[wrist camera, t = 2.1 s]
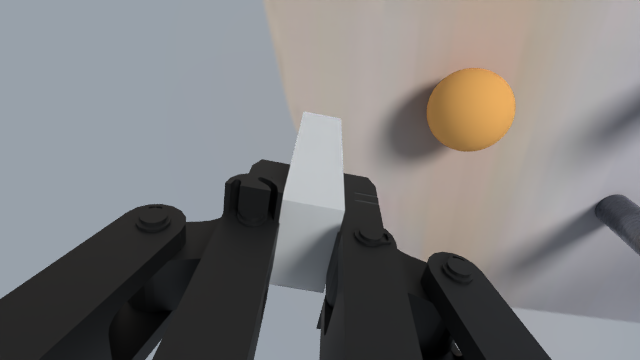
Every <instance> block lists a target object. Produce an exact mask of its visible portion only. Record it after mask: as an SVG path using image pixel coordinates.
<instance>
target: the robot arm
mask: <svg viewBox="0 0 640 360" xmlns="http://www.w3.org/2000/svg"><path fill="white" fill-rule="evenodd" d="M269 284H272V285H278V286H284V287H291V288H296V289H302V290H308V291H315V292H321V293H323V292H324V288H325V284H326V295H325V299H324V303H323V306H322V310H321V314H320V317H319V321H318V325H317V329H321V339H320V360H551V358H550V357H549V356H548V355H547V353H546V352H545V351H544V350H543V348H542V347H541V346H540V345H539V343H538V342H537V341H536V339H535V338H534V337H533V336H532V334H530V332H529V331H528V330H527V328H526V327H525V326H524V324H523V323H522V322H521V321H520V319H519V318H518V317H517V316H516V314H515V313H514V312H513V311H512V309H511V308H510V307H509V305H508V304H507V303H506V302H505V300H504V299H503V298H502V297H501V295H500V294H499V293H498V292H497V290H496V289H495V288H494V286H493V285H492V284H491V283H490V281H489V280H488V279H487V278H486V276H485V275H484V274H483V273H482V271H481V270H480V269H479V268H477V267H476V266H475V265H474V264H473V263H472V262H470V261H468V260H467V259H465V258H464V257H461V256H458V255H456V254H453V253H447V252H439V253H434V254H433V255H432V256H430V257H429V259H428V262H427V263H426V262H424V261H421V260H419V259H416V258H414V257H411V256H409V255H407V254H405V253H403V252H401V251H400V250H398V249H397V246H396V242H395V240H394V238H393V236H392V235H391V234H390V233H389V232H388V231H387V230H386V229H384V228H383V223H382V218H381V213H380V208H379V205H378V197H377V192H376V187H375V186H374V184H373V183H372V182H371V181H370V180H369V179H368V178H367V177H361V176H356V175H350V174H345V173H343V153H342V129H341V119H340V118H335V117H330V116H325V115H320V114H315V113H309V112H304V113H303V117H302V121H301V125H300V129H299V133H298V137H297V141H296V145H295V149H294V153H293V157H292V161H291V165H289V164H284V163H279V162H273V161H268V160H260V161H259V162H257V163H256V164H254V165H252V168H251V170H250V172H249V173H248V174H240V175H237V176H234V177H231V178H230V179H229V180H228V181H227V182H226V183H225V196H224V211H223V215H222V217H221V218H219V219H215V220H211V221H203V222H186V217H185V215H184V214H183V213H182V211H181V210H179V209H177V208H175V207H173V206H168V205H163V204H152V205H145V206H141V207H137V208H135V209H133V210H131V211H129V212H127V213H125V214H124V215H123V216H121V217H120V218H118V219H117V220H115V221H114V222H112V223H111V224H109V225H108V226H106V227H105V228H104V229H102V230H101V231H99V232H98V233H96V234H95V235H93V236H92V237H90V238H89V239H88V240H86V241H85V242H83V243H82V244H80V245H79V246H77V247H76V248H74V249H73V250H72V251H70V252H69V253H67V254H66V255H64V256H63V257H61V258H60V259H58V260H57V261H56V262H54V263H52V264H51V265H50V266H48V267H47V268H45V269H44V270H42V271H41V272H39V273H38V274H36V275H35V276H33V277H32V278H31V279H29V280H28V281H26V282H25V283H23V284H22V285H20V286H19V287H17V288H16V289H15V290H13V291H12V292H10V293H9V294H7V295H6V296H4V297H3V298H1V299H0V360H145V359H146V358H147V357H148V355H149V354H150V353H151V352H152V350H153V349H154V348H155V347H156V346H157V344H158V343H159V342H160V341H161V343H160V345H159V347H158V349H157V351H156V353H155V355H154V357H153V359H152V360H254V356H255V351H256V346H257V341H258V337H259V332H260V328H261V323H262V318H263V314H264V308H265V304H266V300H267V293H268V287H269ZM161 339H162V340H161ZM455 343H456V345H457V346H458V348H459V350H460V351H459V350H458V348H457V346H456V345H455Z"/></svg>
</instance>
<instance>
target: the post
mask: <svg viewBox="0 0 640 360" xmlns="http://www.w3.org/2000/svg"><path fill="white" fill-rule="evenodd" d="M595 213H596V216H597V217H598V218H599V219H600V220H601V221H602V222H603V223H604V224H606V225H607V226H608V227H609V228H610V229H611V230H612V231H613V232H614V233H615V234H616V235H618V236H619V237H620V238H621V239H622V240H623V241H624V242H625V243H626V244H627V245H629V246H630V247H631V248H632V249H633V250H634V251H635V252H636V253H637V254H638V255H640V207H639V206H637V205H636V204H635V203H633V202H632V201H631V200H629V199H628V198H627V197H625V196H623V195H612V196H609V197H607V198H605V199H603V200H602V201H601V202H600V203H599V204H598V205H597V207H596V210H595Z"/></svg>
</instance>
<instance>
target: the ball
mask: <svg viewBox="0 0 640 360" xmlns="http://www.w3.org/2000/svg"><path fill="white" fill-rule="evenodd" d="M514 115H515V99H514V95H513V92H512V90H511V88H510V86H509V85H508V84H507V82H506V81H505V80H504V79H503V78H502V77H500V76H499V75H497V74H496V73H494V72H491V71H489V70H486V69H480V68H468V69H463V70H459V71H457V72H454V73H452V74H450V75H449V76H447V77H446V78H444V79H443V80H442V81H441V82H440V83H439V84H438V85H437V86H436V87H435V89H434V90H433V92H432V94H431V96H430V98H429V101H428V104H427V121H428V125H429V127H430V129H431V132H432V133H433V135H434V136H435V137H436V138H437V139H438V140H439V141H440V142H441V143H442V144H444V145H445V146H447V147H449V148H452V149H455V150H458V151H477V150H482V149H485V148H487V147H489V146H491V145H493V144H495V143H496V142H497V141H499V140H500V139H501V138H502V137H503V136H504V135H505V134H506V132H507V131H508V130H509V128H510V126H511V124H512V122H513V119H514Z"/></svg>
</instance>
